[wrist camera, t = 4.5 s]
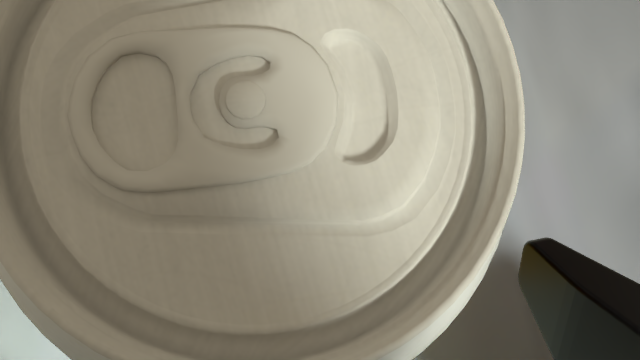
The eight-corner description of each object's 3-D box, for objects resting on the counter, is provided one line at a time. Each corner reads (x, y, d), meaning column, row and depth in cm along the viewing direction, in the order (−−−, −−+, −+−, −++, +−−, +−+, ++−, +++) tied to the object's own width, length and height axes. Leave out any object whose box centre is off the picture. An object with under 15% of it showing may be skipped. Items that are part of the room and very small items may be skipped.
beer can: (350, 322, 20) (625, 384, 5) (167, 347, 19) (-97, 501, 5) (328, 148, 21) (504, -190, 7) (153, 165, 20) (-95, -181, 6)
